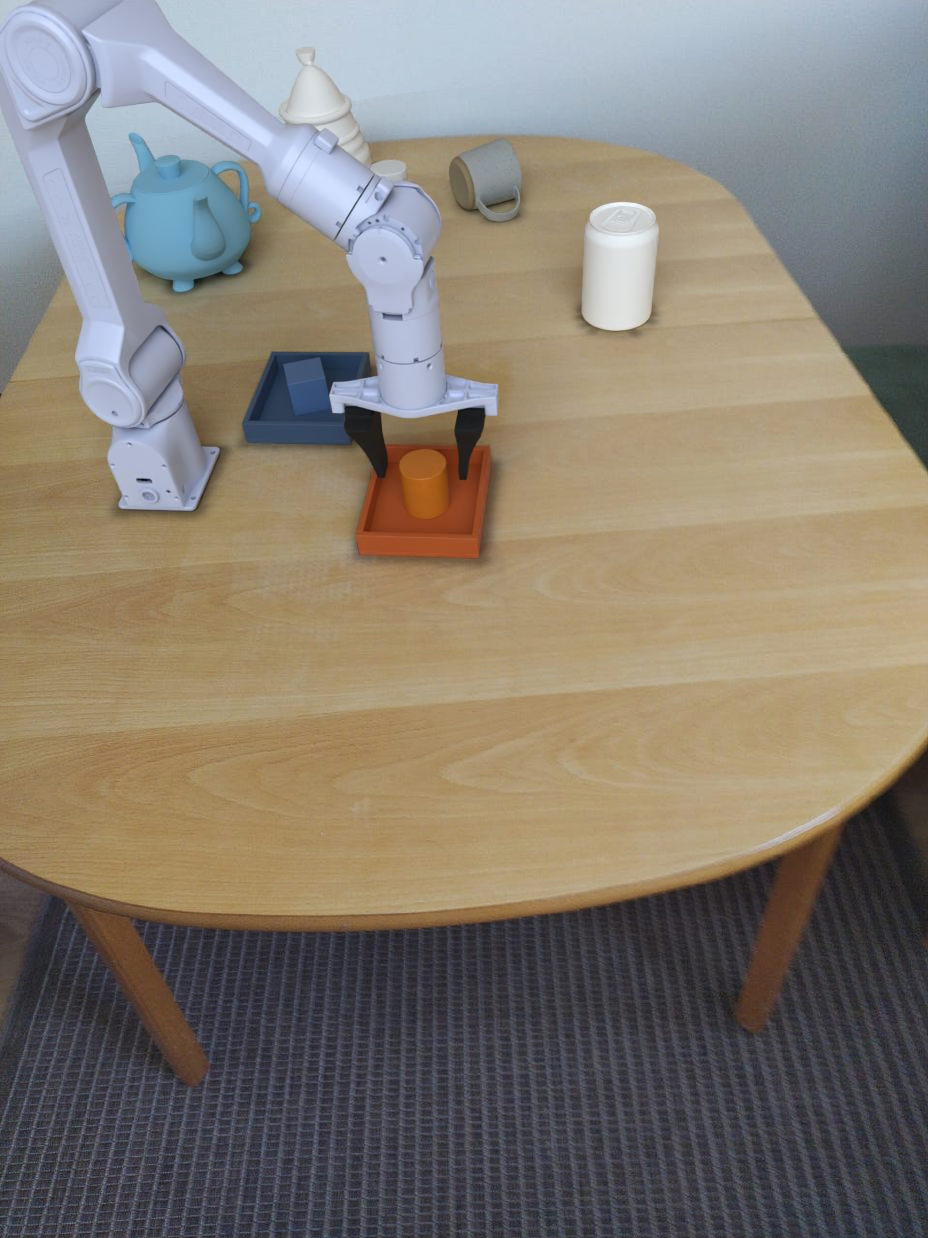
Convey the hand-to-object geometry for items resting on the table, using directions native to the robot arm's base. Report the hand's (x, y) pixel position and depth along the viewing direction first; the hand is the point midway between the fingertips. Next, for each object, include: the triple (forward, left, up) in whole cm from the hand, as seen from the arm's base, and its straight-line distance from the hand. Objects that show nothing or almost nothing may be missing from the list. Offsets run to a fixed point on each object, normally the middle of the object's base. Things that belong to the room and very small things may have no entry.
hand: (423, 471), depth 88 cm
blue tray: (+16, +15, -4) cm, 22 cm away
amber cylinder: (0, 0, -4) cm, 4 cm away
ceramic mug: (+62, -1, -5) cm, 62 cm away
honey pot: (+67, +23, -5) cm, 71 cm away
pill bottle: (+52, +11, -5) cm, 53 cm away
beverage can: (+34, -18, -5) cm, 39 cm away
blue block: (+16, +15, -4) cm, 22 cm away
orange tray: (0, 0, -4) cm, 4 cm away
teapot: (+46, +37, -5) cm, 59 cm away
